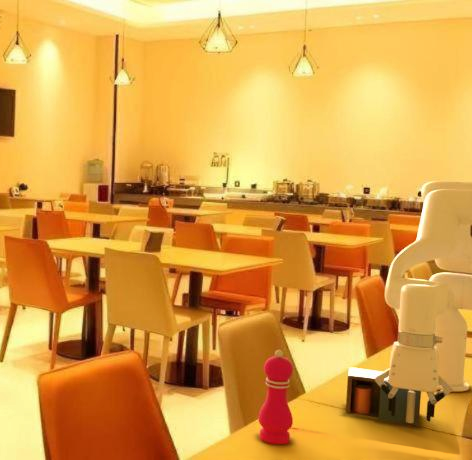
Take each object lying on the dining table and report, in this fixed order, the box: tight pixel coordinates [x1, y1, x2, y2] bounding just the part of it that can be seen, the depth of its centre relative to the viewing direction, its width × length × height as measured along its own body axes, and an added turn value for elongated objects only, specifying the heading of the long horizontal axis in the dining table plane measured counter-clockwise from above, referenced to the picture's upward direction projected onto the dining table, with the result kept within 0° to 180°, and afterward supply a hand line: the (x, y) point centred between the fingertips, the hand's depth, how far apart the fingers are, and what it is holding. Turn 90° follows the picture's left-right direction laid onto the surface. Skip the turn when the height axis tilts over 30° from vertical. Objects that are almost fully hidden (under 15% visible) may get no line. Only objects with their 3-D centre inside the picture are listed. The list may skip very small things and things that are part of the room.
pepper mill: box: [257, 349, 294, 445], centre depth 165 cm, size 7×7×20 cm
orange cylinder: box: [353, 385, 372, 414], centre depth 184 cm, size 4×4×6 cm
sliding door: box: [378, 381, 419, 426], centre depth 175 cm, size 7×8×10 cm
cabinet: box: [345, 367, 422, 424], centre depth 183 cm, size 8×16×10 cm, turn 65°
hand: (410, 416), depth 172 cm, fingers open, 6 cm apart
